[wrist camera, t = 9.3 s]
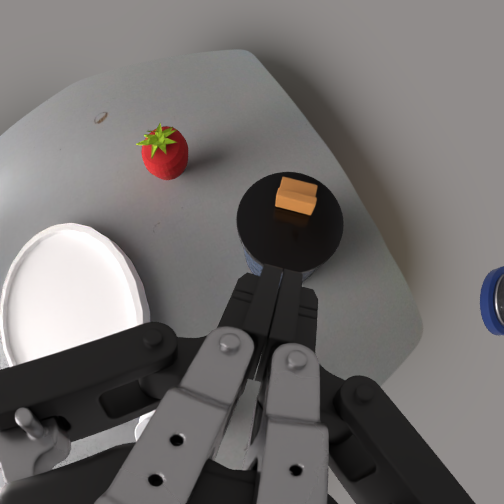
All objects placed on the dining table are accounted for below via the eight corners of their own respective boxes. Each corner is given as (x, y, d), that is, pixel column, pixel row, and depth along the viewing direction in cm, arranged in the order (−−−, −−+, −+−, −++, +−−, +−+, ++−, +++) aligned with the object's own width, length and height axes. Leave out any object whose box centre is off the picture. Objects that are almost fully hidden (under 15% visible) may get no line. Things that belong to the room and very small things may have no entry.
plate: (120, 452, 29) (113, 458, 27) (-3, 357, 32) (-12, 357, 30) (183, 265, 35) (177, 261, 33) (42, 208, 38) (34, 203, 36)
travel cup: (310, 297, 34) (332, 284, 23) (234, 277, 35) (222, 256, 24) (326, 225, 36) (350, 186, 25) (254, 207, 37) (252, 161, 26)
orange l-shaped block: (310, 216, 25) (315, 205, 22) (274, 207, 25) (276, 195, 23) (316, 188, 25) (321, 175, 23) (282, 179, 26) (284, 165, 23)
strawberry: (161, 202, 38) (133, 165, 28) (152, 159, 39) (127, 118, 30) (202, 187, 38) (185, 145, 28) (189, 145, 40) (172, 100, 30)
